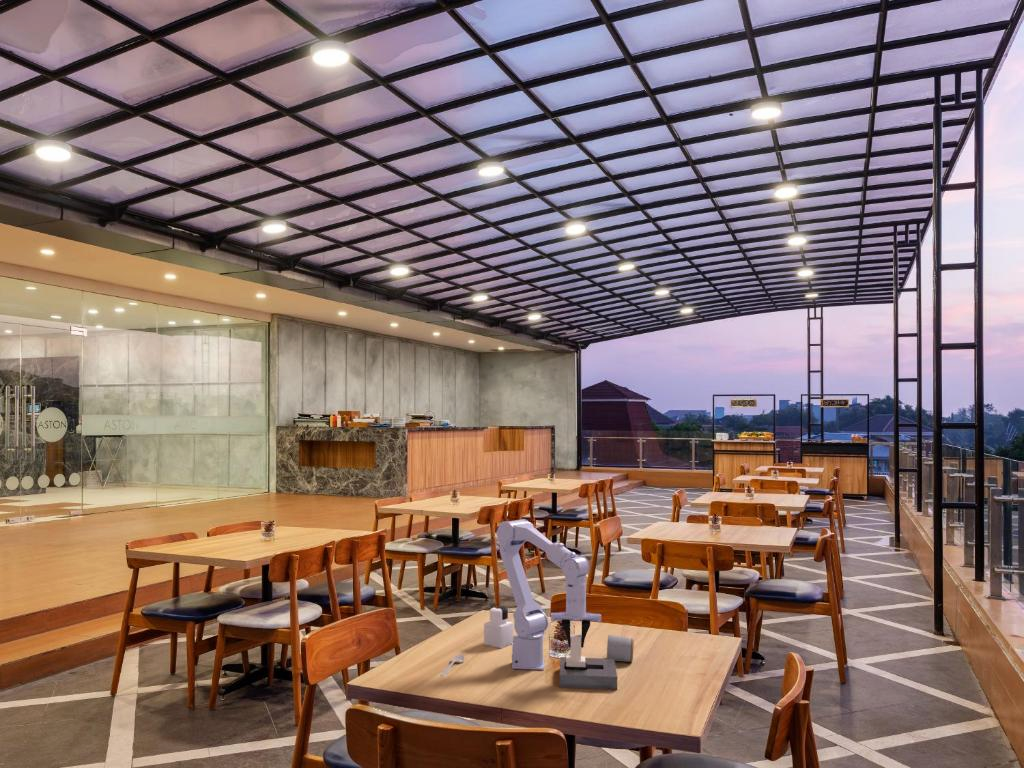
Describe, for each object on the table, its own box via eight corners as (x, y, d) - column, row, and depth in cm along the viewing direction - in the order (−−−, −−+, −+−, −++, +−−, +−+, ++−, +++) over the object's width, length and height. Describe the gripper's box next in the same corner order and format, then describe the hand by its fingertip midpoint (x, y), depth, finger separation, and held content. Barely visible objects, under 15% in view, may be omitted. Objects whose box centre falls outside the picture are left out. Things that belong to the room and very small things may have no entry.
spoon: (467, 660, 237) (467, 654, 237) (444, 682, 217) (444, 676, 218) (455, 658, 238) (455, 653, 239) (431, 680, 219) (431, 674, 219)
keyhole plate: (559, 687, 212) (559, 674, 212) (560, 668, 228) (560, 657, 228) (617, 689, 211) (617, 676, 211) (614, 670, 227) (614, 658, 227)
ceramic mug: (633, 665, 232) (633, 639, 233) (606, 663, 234) (606, 638, 234) (633, 655, 243) (633, 630, 243) (608, 653, 244) (608, 629, 245)
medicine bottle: (496, 639, 258) (496, 604, 258) (513, 643, 254) (513, 607, 254) (483, 644, 252) (483, 608, 253) (500, 648, 248) (501, 611, 248)
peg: (566, 666, 217) (566, 637, 218) (566, 660, 223) (566, 632, 223) (585, 667, 217) (585, 638, 217) (585, 661, 222) (585, 633, 223)
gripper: (550, 601, 218) (550, 649, 217) (601, 602, 216) (601, 651, 216) (551, 595, 225) (551, 642, 224) (600, 597, 223) (600, 644, 223)
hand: (575, 646), depth 220 cm, fingers closed on peg, 3 cm apart
